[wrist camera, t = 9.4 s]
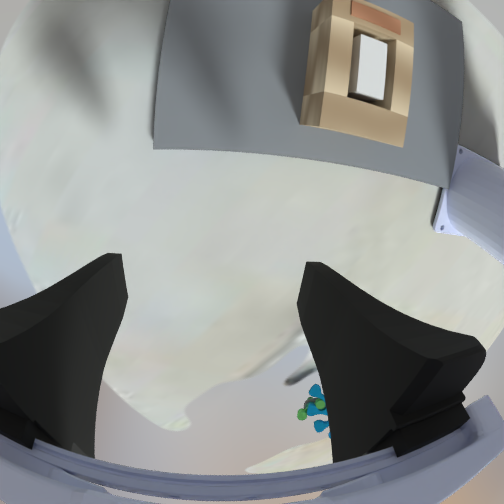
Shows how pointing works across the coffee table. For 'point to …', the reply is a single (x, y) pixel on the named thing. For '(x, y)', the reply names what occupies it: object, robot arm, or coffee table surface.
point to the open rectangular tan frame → (338, 71)
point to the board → (302, 85)
